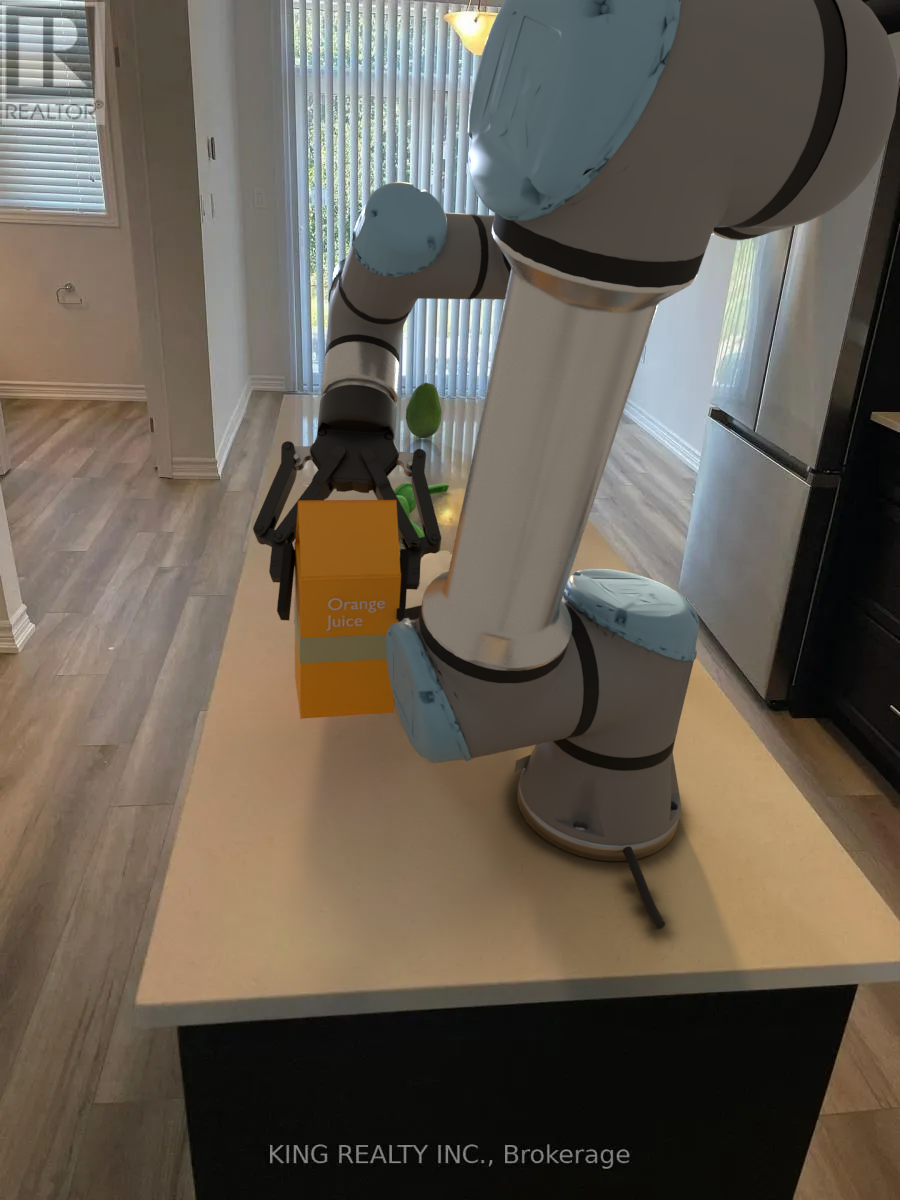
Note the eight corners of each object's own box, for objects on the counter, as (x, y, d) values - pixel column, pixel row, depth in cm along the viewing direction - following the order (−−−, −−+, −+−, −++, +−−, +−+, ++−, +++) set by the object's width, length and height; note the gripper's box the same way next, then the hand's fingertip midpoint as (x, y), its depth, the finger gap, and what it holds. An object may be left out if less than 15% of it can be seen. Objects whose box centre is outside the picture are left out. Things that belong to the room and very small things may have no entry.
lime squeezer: (451, 568, 129) (454, 529, 126) (372, 564, 129) (373, 525, 126) (449, 493, 159) (451, 460, 156) (385, 489, 159) (386, 456, 156)
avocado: (446, 437, 192) (450, 383, 187) (427, 444, 186) (430, 388, 181) (417, 430, 196) (419, 376, 190) (397, 437, 190) (399, 382, 184)
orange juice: (394, 713, 81) (405, 516, 72) (299, 719, 79) (299, 517, 70) (381, 670, 88) (390, 484, 79) (293, 674, 86) (293, 484, 77)
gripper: (470, 428, 88) (463, 636, 81) (250, 415, 88) (224, 624, 80) (476, 387, 81) (469, 612, 74) (236, 373, 80) (207, 599, 73)
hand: (342, 618), depth 77 cm, fingers closed on orange juice, 10 cm apart
